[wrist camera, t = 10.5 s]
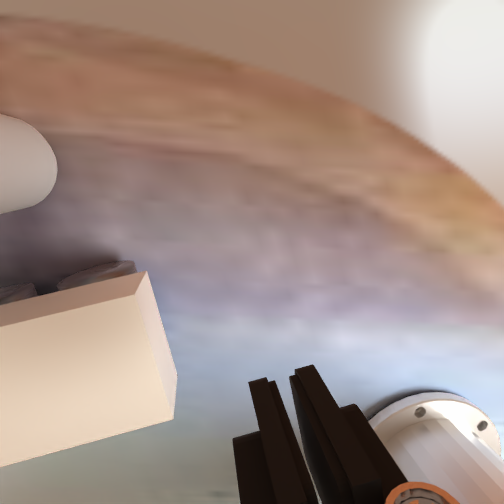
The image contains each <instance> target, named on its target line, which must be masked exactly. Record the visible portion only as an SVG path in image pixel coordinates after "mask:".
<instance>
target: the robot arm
mask: <svg viewBox="0 0 504 504" xmlns="http://www.w3.org/2000/svg"><path fill="white" fill-rule="evenodd" d="M289 380H290V385H291V390H292V394H293V399H294V404H295V409H296V414H297V419H298V424H299V429H300V433H301V438H302V443H303V448H304V453H305V457H306V460H307V463H308V466H309V469H310V472H311V474H312V477H313V480H314V482H315V485H316V488H317V490H318V493H319V496H320V499H321V501H322V504H504V460H503V459H502V458H501V445H500V438H499V435H498V432H497V430H496V427H495V425H494V424H493V422H492V421H491V420H490V418H489V417H488V416H487V415H486V414H485V413H484V412H483V411H482V410H481V409H479V408H478V407H477V406H476V405H475V404H473V403H472V402H470V401H468V400H467V399H465V398H463V397H460V396H457V395H455V394H451V393H443V392H429V393H421V394H417V395H413V396H408V397H406V398H404V399H401V400H399V401H397V402H394V403H392V404H391V405H389V406H388V407H386V408H384V409H383V410H381V411H380V412H378V413H377V414H376V415H375V416H374V417H373V418H372V419H370V420H369V421H367V419H366V418H365V416H364V415H363V413H362V412H361V410H360V409H359V408H358V406H357V405H355V404H351V405H348V406H344V407H341V408H339V407H338V405H337V404H336V402H335V400H334V398H333V397H332V395H331V393H330V392H329V390H328V388H327V387H326V385H325V383H324V382H323V380H322V378H321V376H320V375H319V373H318V371H317V370H316V368H315V366H314V365H309V366H305V367H302V368H298V369H295V375H292V376H289ZM248 383H249V387H250V392H251V396H252V400H253V404H254V408H255V413H256V417H257V421H258V425H259V429H260V431H257V432H253V433H250V434H246V435H243V436H239V437H236V438H233V448H234V456H235V464H236V472H237V480H238V487H239V495H240V503H241V504H319V503H318V499H317V496H316V492H315V489H314V486H313V483H312V480H311V478H310V475H309V472H308V469H307V467H306V464H305V461H304V459H303V456H302V453H301V450H300V448H299V445H298V442H297V439H296V437H295V434H294V431H293V428H292V426H291V423H290V420H289V417H288V415H287V412H286V409H285V407H284V404H283V401H282V398H281V396H280V393H279V390H278V387H277V385H276V382H275V380H274V381H270V382H268V380H267V378H266V377H265V378H261V379H258V380H254V381H250V382H248Z"/></svg>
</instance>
